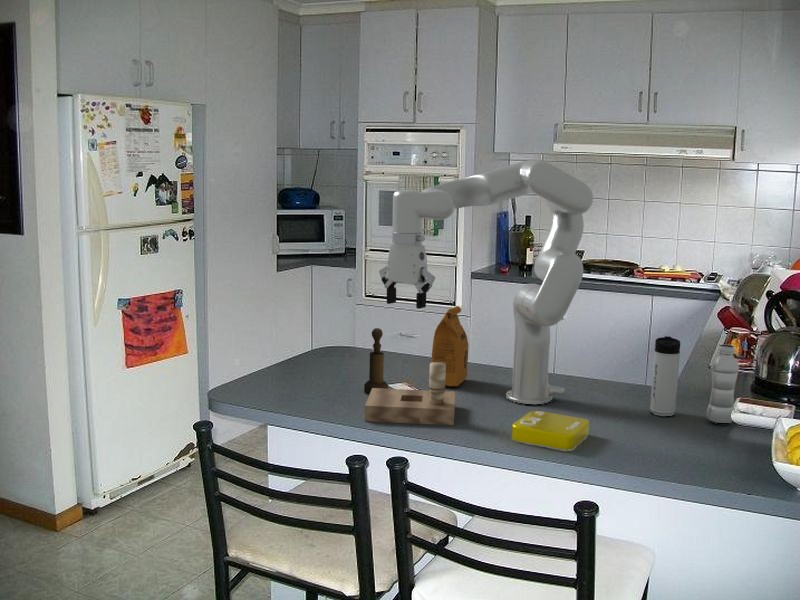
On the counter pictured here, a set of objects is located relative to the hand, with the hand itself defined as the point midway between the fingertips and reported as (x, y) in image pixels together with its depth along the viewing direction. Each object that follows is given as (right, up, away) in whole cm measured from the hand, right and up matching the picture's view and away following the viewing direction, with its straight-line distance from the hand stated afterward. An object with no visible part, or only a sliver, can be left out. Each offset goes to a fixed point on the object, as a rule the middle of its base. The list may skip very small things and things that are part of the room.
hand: (406, 305), depth 224 cm
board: (+1, -28, -1) cm, 28 cm away
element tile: (+34, -32, -18) cm, 50 cm away
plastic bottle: (+79, -30, -4) cm, 85 cm away
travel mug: (+67, -28, +3) cm, 73 cm away
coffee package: (+13, -23, +28) cm, 39 cm away
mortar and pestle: (-8, -24, +17) cm, 31 cm away
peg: (+8, -24, -6) cm, 26 cm away
